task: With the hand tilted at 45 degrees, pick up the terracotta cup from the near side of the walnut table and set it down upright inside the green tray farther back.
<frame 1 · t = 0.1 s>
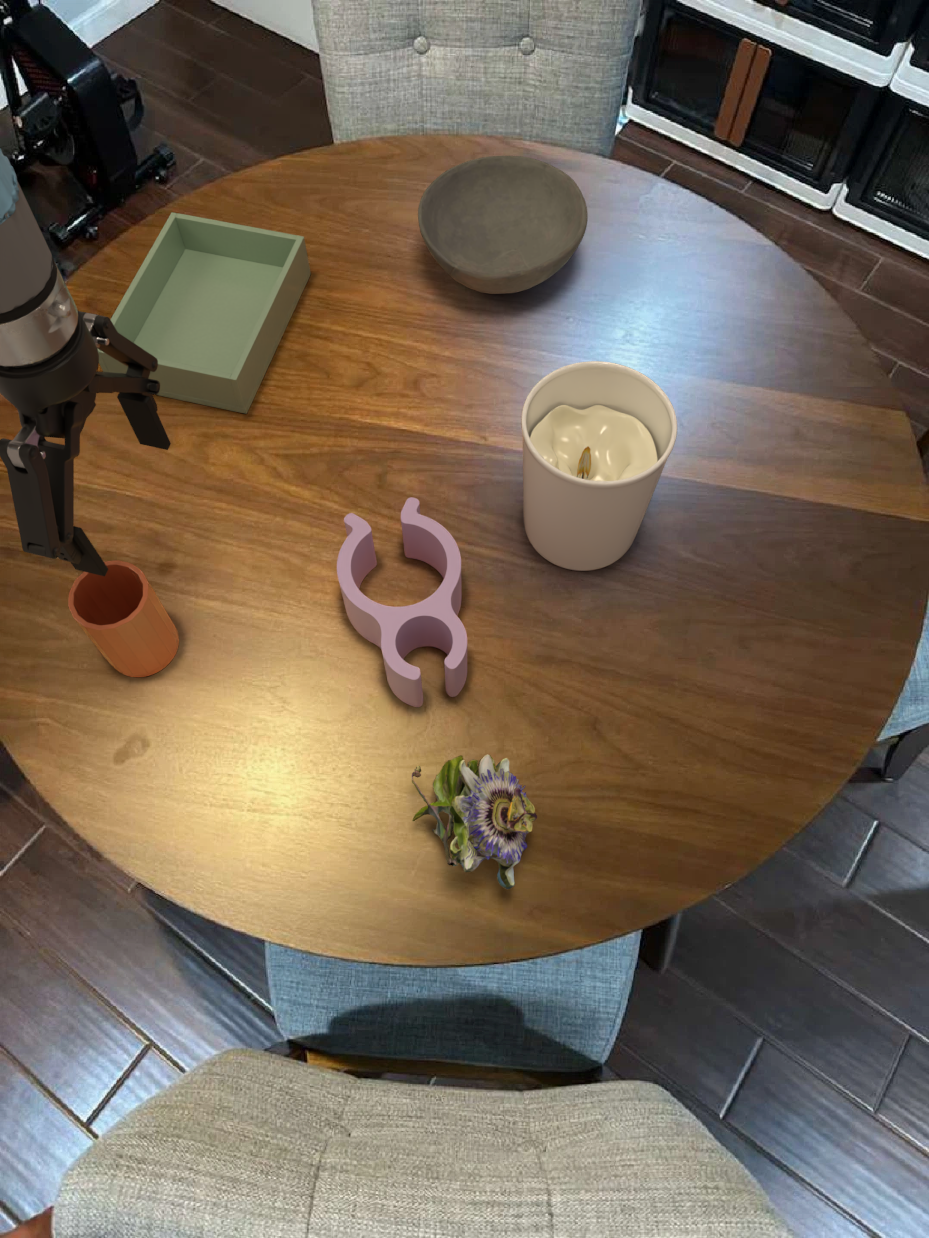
hand: (125, 504, 85), 20 cm above the table, tool pointing down, fingers open, 13 cm apart
candle holder: (579, 524, 107), on the table
passion flower: (472, 827, 92), on the table
clip: (410, 618, 102), on the table
cup: (143, 644, 101), on the table
bowl: (500, 263, 126), on the table
green tray: (213, 327, 121), on the table
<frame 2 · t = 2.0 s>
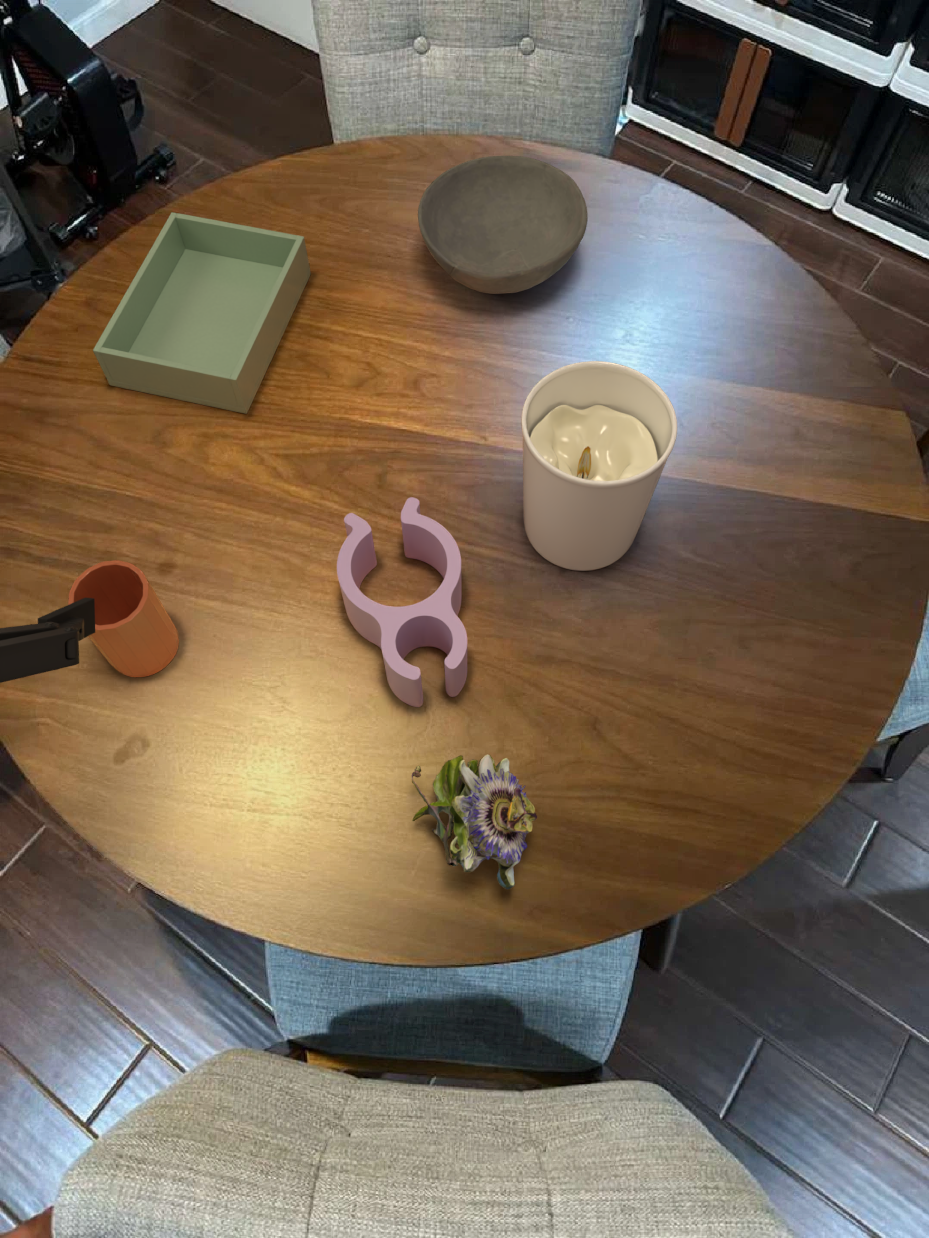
hand: (8, 605, 75), 24 cm above the table, tool tilted 40°, fingers open, 13 cm apart
nothing on the table moved.
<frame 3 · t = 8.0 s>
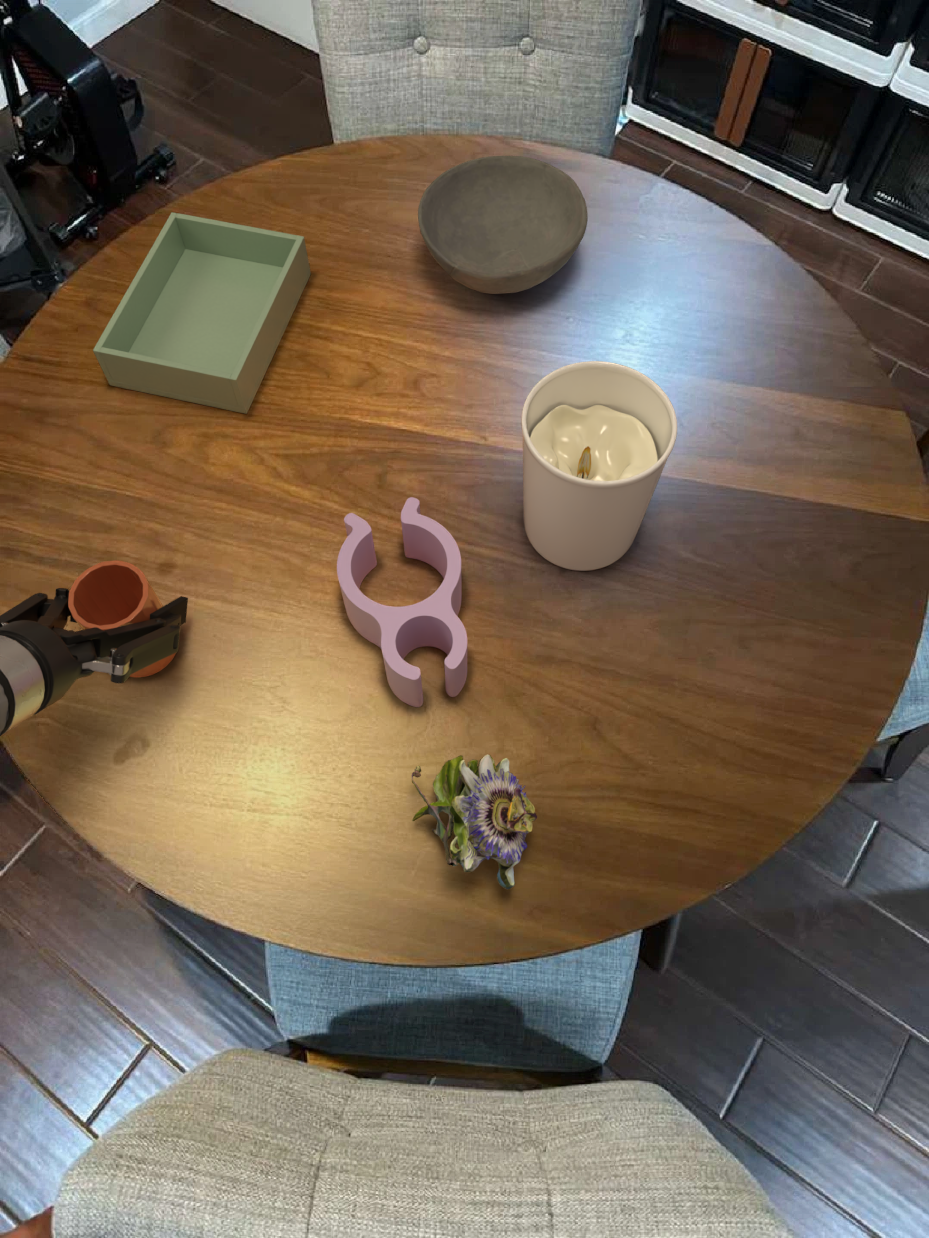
hand: (146, 600, 99), 4 cm above the table, tool tilted 45°, fingers closed on cup, 7 cm apart
cup: (143, 644, 101), on the table, touching gripper
everything else where it was.
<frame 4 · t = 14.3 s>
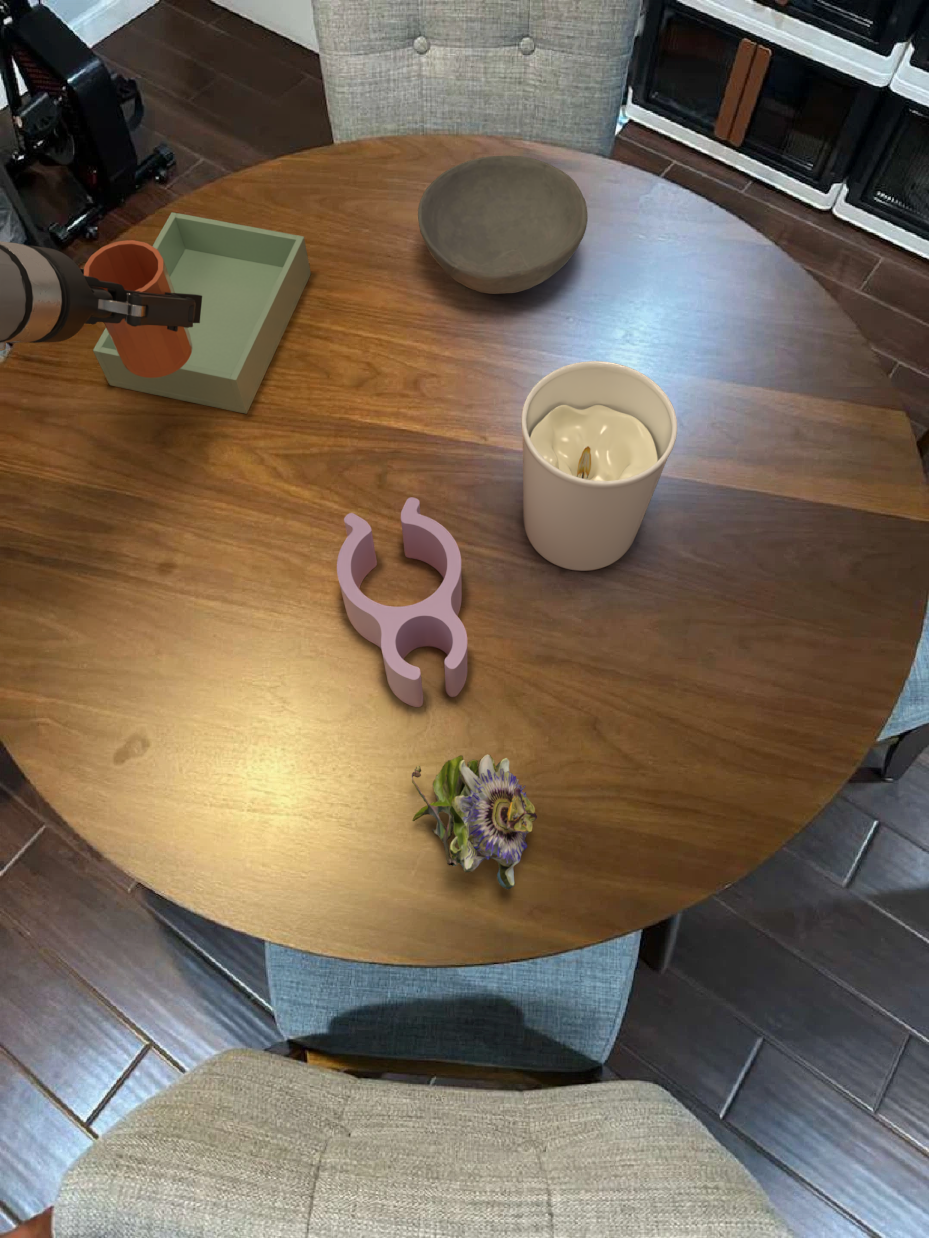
hand: (160, 301, 99), 17 cm above the table, tool tilted 45°, fingers closed on cup, 7 cm apart
cup: (156, 350, 101), point 14 cm above the table, touching gripper
everything else where it was.
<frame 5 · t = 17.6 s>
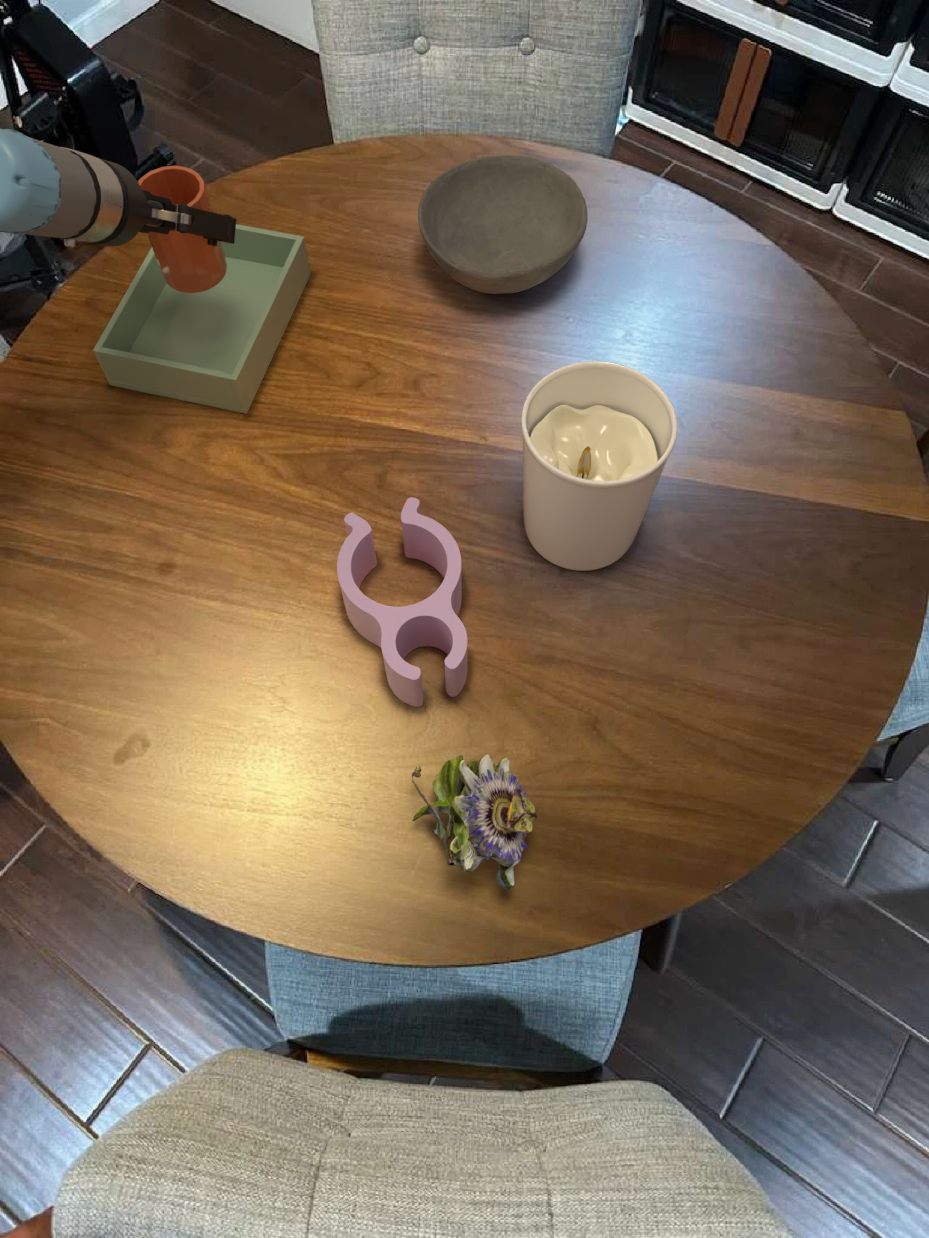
hand: (198, 224, 111), 13 cm above the table, tool tilted 45°, fingers closed on cup, 7 cm apart
cup: (195, 270, 112), point 9 cm above the table, touching gripper
everything else where it was.
when the fingers open (5 cm above the table, at t = 20.4 s): cup stays where it is, resting on green tray.
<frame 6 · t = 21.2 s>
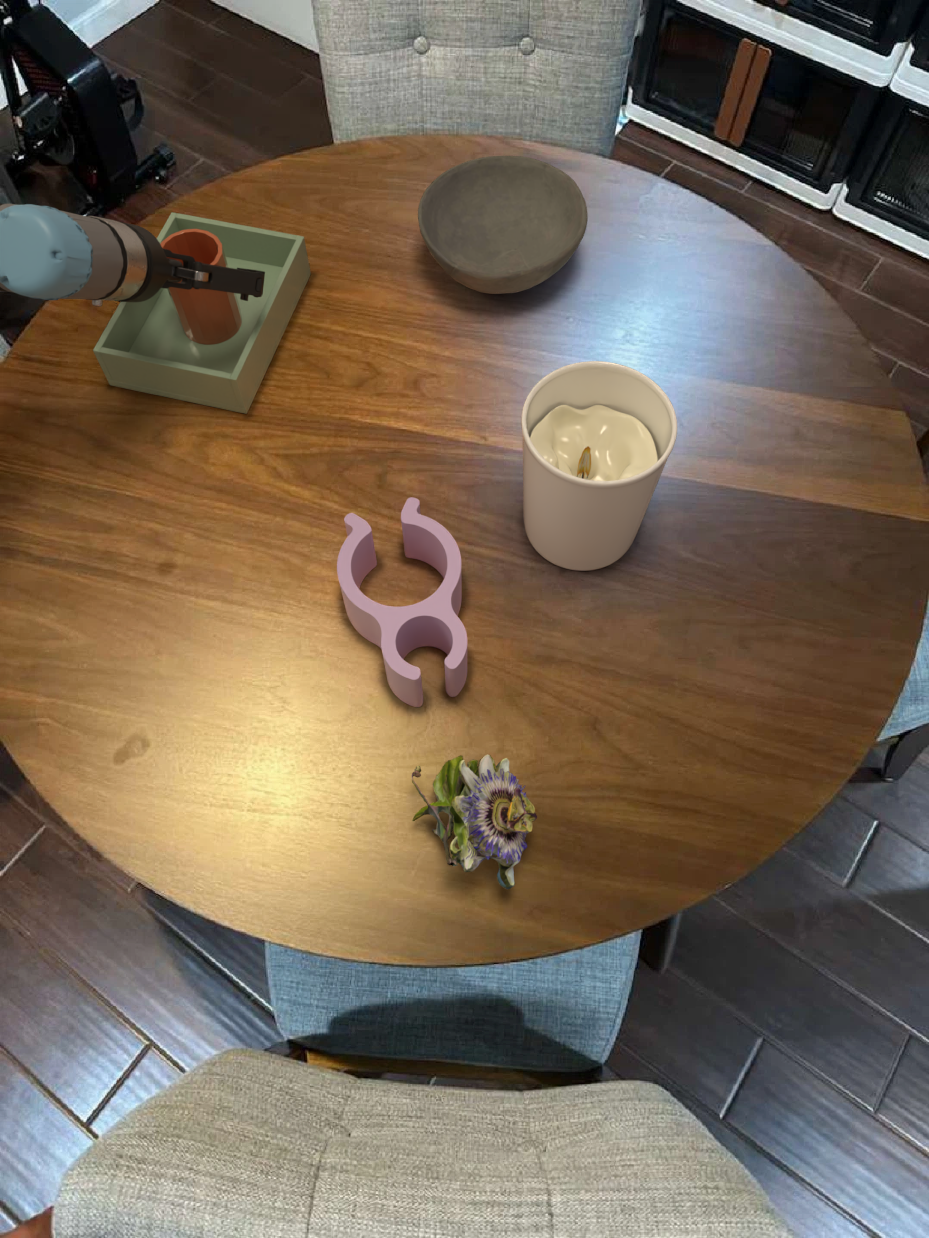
hand: (207, 272, 116), 7 cm above the table, tool tilted 45°, fingers open, 13 cm apart
cup: (212, 322, 120), point 1 cm above the table, touching green tray
everything else where it was.
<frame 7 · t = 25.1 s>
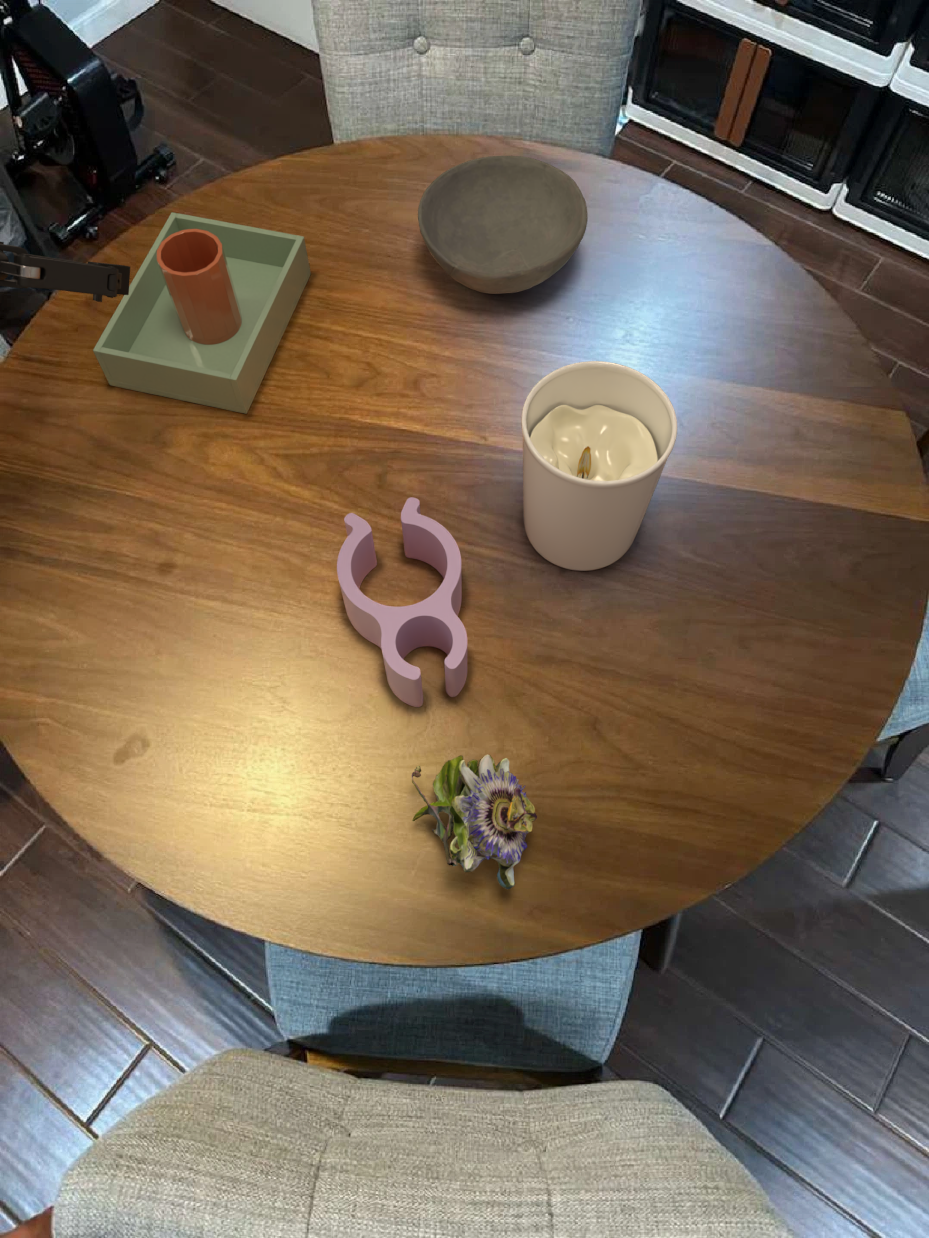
hand: (62, 268, 97), 21 cm above the table, tool tilted 45°, fingers open, 13 cm apart
nothing on the table moved.
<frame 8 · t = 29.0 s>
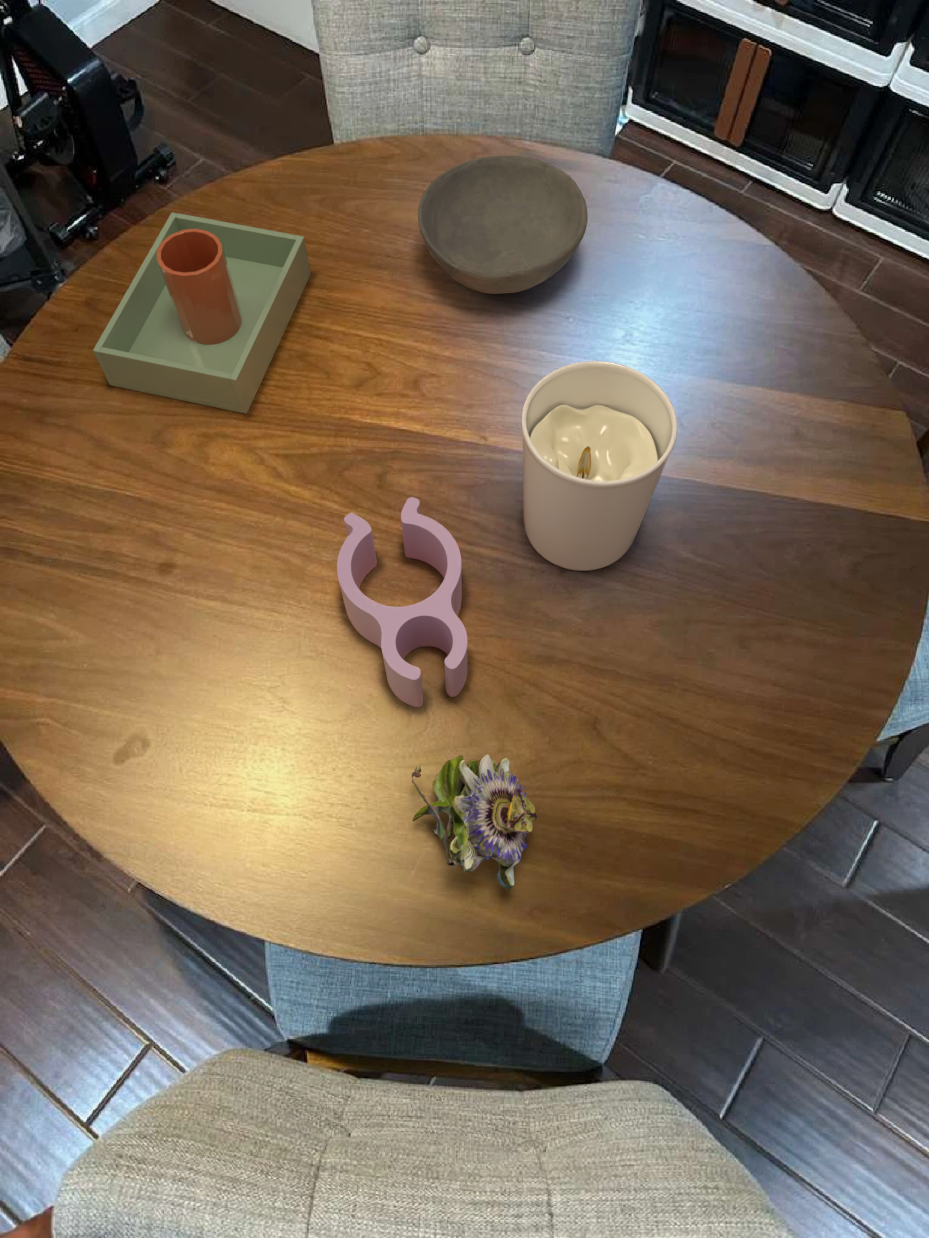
nothing on the table moved.
at the end: cup inside the target area in the green tray (0.0 cm from its centre), point 1.0 cm above the green tray's base; cup tilted 0°; the gripper is holding nothing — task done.
